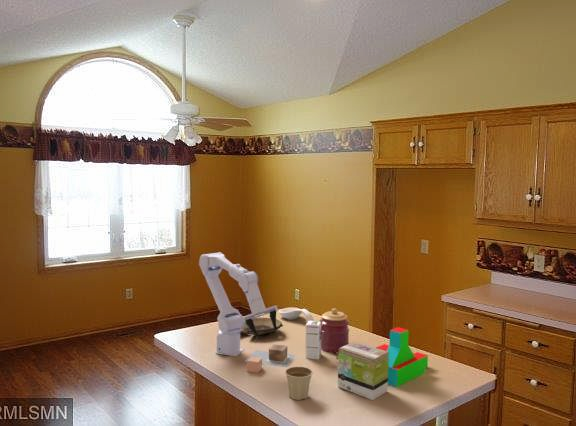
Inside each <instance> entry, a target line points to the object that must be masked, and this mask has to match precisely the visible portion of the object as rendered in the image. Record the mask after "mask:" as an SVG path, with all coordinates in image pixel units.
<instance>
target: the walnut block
mask: <svg viewBox="0 0 576 426" xmlns="http://www.w3.org/2000/svg"><path fill="white" fill-rule="evenodd" d="M268 352H269V360H272V361H280V362H283V361H284V360H285V359H286V358H287V354H288V345H281V344H272V346H270V347H269V349H268Z"/></svg>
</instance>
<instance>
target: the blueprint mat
mask: <svg viewBox="0 0 576 426" xmlns="http://www.w3.org/2000/svg"><path fill="white" fill-rule="evenodd" d="M296 356H297V354H290V353H287V358H286V359H285V360H284V361H283V362H280V361H272V360H269V351H266V350H257V349H255V350H254V351H253V352H252V353H251V354H250V355H249V356H248V357H247V358H246V359H245V360H244V361H243V363H247V360H248V359H249V358H250V357H258V358H262V366H263V365H264V366H271V367H272V366H273V367H280V368H281V367H282V368H287V367H288V366H289V365H290V364H291V362H292V361H294V359H295V358H296Z"/></svg>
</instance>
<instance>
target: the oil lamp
mask: <svg viewBox="0 0 576 426" xmlns="http://www.w3.org/2000/svg"><path fill="white" fill-rule="evenodd" d="M252 320H253V323H254V326H255V329H256V332H257V334H258V336H262V335H265V334H268V333H272V332H275V330H274V327H273V324H272V321H271V318H270V317H257V318H255V319H252ZM276 327H277V330H279V329H281V328H282V327H284V324H283V323H282V322H281V320H279V319H277V318H276ZM240 333H243V334H246V335H248V336H249V335H250V336H255V334H254V333H253V331H252V330H251V329H250V328H249V326H248V325H247V324H246V322H244V327H243V328H242V331H240Z"/></svg>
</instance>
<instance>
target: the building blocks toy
mask: <svg viewBox="0 0 576 426" xmlns="http://www.w3.org/2000/svg"><path fill="white" fill-rule="evenodd" d="M375 348H378V349H381V350H384V351H388V352H389V364H388V385H391V386H394V387H396V388H397V387H399V386H402V385H403V384H406V383H407V382H410V381H411V380H413V379H416V378H417V377H419V376H421V375H423V374H425V373H426V368H428V363H429V355H427V354H425V353H422V352H413V351H412V349H411V347H410V346H409V329H406V328H403V327H399V326H397V327H394V328H391V329H389V344H386V343H385V344H381V345H379V346H377V347H375ZM405 382H406V383H405Z"/></svg>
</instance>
